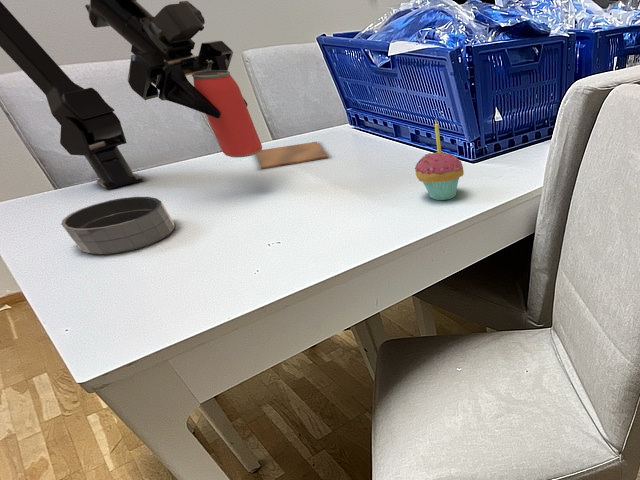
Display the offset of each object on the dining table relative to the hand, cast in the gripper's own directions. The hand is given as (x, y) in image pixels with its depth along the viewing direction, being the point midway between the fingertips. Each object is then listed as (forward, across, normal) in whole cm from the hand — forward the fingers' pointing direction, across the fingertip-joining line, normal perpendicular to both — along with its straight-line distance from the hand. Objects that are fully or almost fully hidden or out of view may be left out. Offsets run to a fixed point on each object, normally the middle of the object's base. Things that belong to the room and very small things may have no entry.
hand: (233, 111), depth 77 cm
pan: (+3, -22, +16) cm, 27 cm away
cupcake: (+34, +3, -16) cm, 38 cm away
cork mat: (+3, +22, +16) cm, 27 cm away
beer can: (+4, 0, +6) cm, 7 cm away
